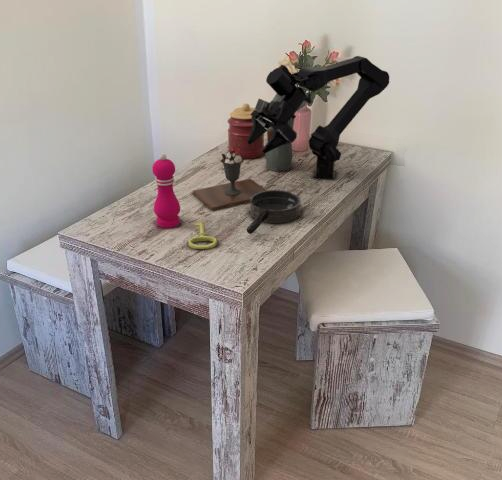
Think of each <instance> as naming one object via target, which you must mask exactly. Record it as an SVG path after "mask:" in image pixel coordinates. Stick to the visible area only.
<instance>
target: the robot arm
mask: <svg viewBox="0 0 502 480" xmlns="http://www.w3.org/2000/svg"><path fill="white" fill-rule="evenodd" d="M355 74H357V75H358V76H359V77H360V78H359V80H358V84H357V88H356V90H355V91H354V93H352V95H351V96H350V97H349V99H348V100H347V101H346V102H345V104H344V105H343V106H342V107H341V108H340V110H339V111H338V112H337V114H335V116H334V117H333V118H332V119H331V120H330V121H329V123H328V124H327V125H325V126H322V125H318V126H317V127H316V129H315V130H314V131H313V132H312V133H311V134H310V138H309V140H308V148H309V149H310V150H311V153H312V155H313V156H316V166H315V171H314V174H313V178H315V179H324V180H325V179H326V180H334V179H335V177H336V176H335V175H336V170H335V162H336V161H340V159H341V156H342V152H341V151H339V149H338V148H337V147H338V145H339V142H340V136H341V134H342V133H343V132H344V131H345V129H346V128H347V127H348V126H349V125H350V123H351V122H352V121H353V120H354V119H355V117H356V116H357V115H358V114H359V113H360V111H361V110H362V109H363V108H364V106H365V105H366V104H367V102H369V101H370V100H371V99H373V98H375V97H376V96H378V95H380V94H381V93H382V92H383V91H385V89H387V88H388V86H389V84H390V74H389V72H388V71H386V70H383V69H381V68H380V67H378V66H376V65H375V64H374V63H372V62H371V60H369V59H368V58H367V57H364V56H361V55H355V56H354V57H352V58H349V59H345V60H341V61H337V62H335V63H331V64H329V65H325V66H303V67H301V68H300V69H299V70H298V71H296V72H293V73H292V72H290V70H289V68H288V67H287V65H284V64H281V65H279V67H276V68H274V69H273V70H272V71H269V73H268V74H267V76H266V79H265V82H266V84H267V85H269V87H270V88H271V89H272V90H273V91H274V92H275V93H276V94H278V95H279V96H283V95H284V96H283V98H282V99H281V100H280V102H278V101H275V102H274V101H272V100H271V101H266V100H264V99H261V98H258V99H257V102H256V103H255V107H254V108H255V109H256V110H254V111H253V112H252V113H251V114H250V115H251V116H252V117H251V119H252V121H253V127H252V130H251V133H250V136H249V138H248V141H247V143H248V144H251V143H253V142H254V141H255V140H256V139H258V138H259V137H260V136H261V135H263V134H264V135H265V134H266V133H267V128H269V127H272V128H273V131H272V136H271V138H270V139H269V141H268V140H267V142H266V143H265V145H264V148H263V150H262V152H263V155H264V154H265V155H266V153H267V152H269V151H271V150H273V149H275V148H277V147H279V146H281V145H283V144H286V143H289V141H291V142H292V143H294V142H295V140H296V139H297V137H298V136H297V135H298V134H297V132H296V130H294V128H293V129H292V128H291V127H290V126H289V125H288V124H287V123H288V121H289V120H290V119H291V118H293V119H294V120H295V119H296V118H297V115H296V113H297V111H298V110H299V109H300V108H301V106H302V105H303V104H304V103H307V104H312V94H311V93H309V92H306V91H305V90H307V91H310V92H316V91H318V90H320V89H323V88H324V87H326V86H327V84H328V83H330V82H332V81H335V80H339V79H341V78H345V77H348V76H352V75H355ZM298 86H299V87H298ZM304 89H305V90H304ZM288 140H289V141H288Z"/></svg>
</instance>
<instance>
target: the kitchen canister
mask: <svg viewBox="0 0 502 480" xmlns="http://www.w3.org/2000/svg"><path fill="white" fill-rule="evenodd" d="M254 110H256V109H255V107H250V104H249V103H243V104H242V106H241V107H237V108H234V109H233V110H232V111H230V113H229V116H230V117H229V118H228V119H227V123H228V129H227V134H228V135H227V137H228V139H227V140H228V141H227V143H228V146H227V152H229V151H231V150H232V149H234V148H235V147H236V146H237V147H238V148H237V147H236V148H235V152H236V151H238V152H239V155H240V156H241V158H242V159H243V160H244V159H246V160H248V159H249V160H250V159H255V158H259V157H261V156H263V155H264V153H263V152H262V150H263V148H264V147H265V145H264V144H265V133H264V134H263V135H261V136H260V137H259V138H258V139H256V140H255V141H254V142H253V143H251V144H248V143H247V141H248V138H249V136H250V133H251V130H252V127H253V121H252V119H251V117H252V116H251V115H250V114H251V113H252V112H253V111H254ZM237 144H240V145H239V146H238V145H237Z"/></svg>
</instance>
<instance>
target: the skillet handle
mask: <svg viewBox="0 0 502 480" xmlns="http://www.w3.org/2000/svg"><path fill="white" fill-rule="evenodd" d="M267 217H268V212H267V211H263V212H262V213H261V214H260V215H259V216H258V217H257V218H256V219H255V218H254V219H253V221H252V222H251V223H250V224H249V225H248V226H247V228H246V233H247V234H249V235H252V234H253V233H255V232H256V230H257V229H258V228H259V227H260V226H261V225H262V224H263V223H264V222H263V221H264V220H265V219H266V218H267Z"/></svg>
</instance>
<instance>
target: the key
mask: <svg viewBox="0 0 502 480" xmlns="http://www.w3.org/2000/svg"><path fill="white" fill-rule="evenodd" d="M193 227H199V234H198V235H197V236H194V237H191V238H190V239H188V247H189V248H191V249H193V250H206V249H207V250H208V249H212V248H215V247H216V246H217V244H218V242H217V241H218V240H217V238H215V237H214V236H211V235H206V233H205V223H204V221H202V220H201V221H199V222H194V223H193ZM198 242H210V243H209V244H203V245H202V244H201V245H200V244H195V243H198Z"/></svg>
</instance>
